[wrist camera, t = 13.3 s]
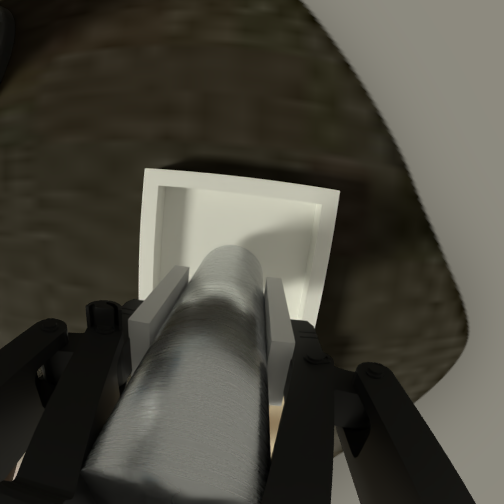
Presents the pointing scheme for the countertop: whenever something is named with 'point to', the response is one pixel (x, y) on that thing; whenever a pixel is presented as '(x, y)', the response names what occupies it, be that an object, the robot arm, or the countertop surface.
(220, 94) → the countertop surface
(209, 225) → the tray
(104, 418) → the robot arm
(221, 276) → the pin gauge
